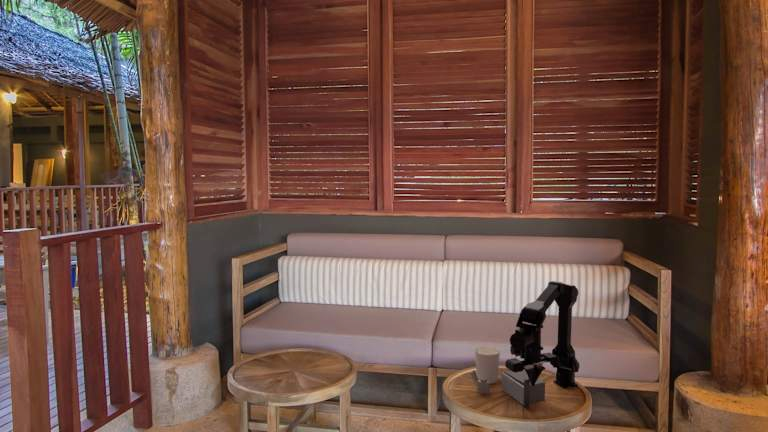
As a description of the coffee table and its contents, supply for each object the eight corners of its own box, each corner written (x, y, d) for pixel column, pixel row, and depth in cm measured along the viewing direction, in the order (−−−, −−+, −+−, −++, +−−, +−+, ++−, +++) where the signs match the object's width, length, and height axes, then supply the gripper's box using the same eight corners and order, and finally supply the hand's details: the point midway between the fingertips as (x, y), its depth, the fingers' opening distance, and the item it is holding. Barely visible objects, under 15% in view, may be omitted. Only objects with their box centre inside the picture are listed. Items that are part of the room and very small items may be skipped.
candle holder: (472, 374, 213) (473, 346, 212) (496, 374, 213) (497, 346, 211) (477, 384, 203) (477, 355, 202) (502, 384, 203) (502, 354, 202)
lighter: (489, 392, 196) (489, 371, 195) (488, 393, 195) (488, 373, 194) (470, 389, 199) (470, 369, 198) (469, 391, 197) (469, 370, 196)
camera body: (522, 385, 202) (522, 367, 201) (547, 399, 189) (547, 381, 188) (504, 389, 198) (504, 371, 198) (527, 404, 185) (528, 385, 185)
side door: (504, 388, 198) (504, 364, 197) (530, 407, 183) (530, 380, 182) (500, 389, 198) (500, 364, 197) (525, 408, 182) (526, 381, 181)
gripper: (541, 332, 192) (540, 373, 194) (496, 339, 186) (497, 381, 188) (560, 341, 182) (560, 384, 183) (514, 349, 176) (514, 393, 177)
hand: (532, 385), depth 183 cm, fingers closed
